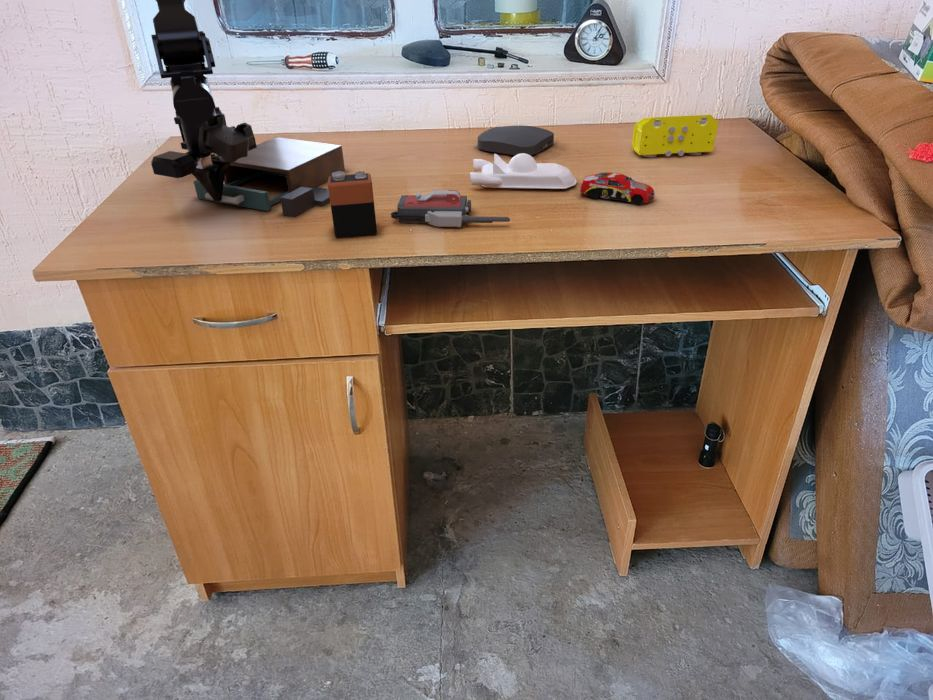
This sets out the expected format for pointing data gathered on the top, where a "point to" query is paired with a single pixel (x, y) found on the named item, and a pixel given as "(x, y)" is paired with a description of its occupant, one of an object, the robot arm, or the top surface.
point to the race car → (616, 188)
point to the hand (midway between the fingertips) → (218, 200)
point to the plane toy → (521, 173)
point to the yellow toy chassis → (674, 135)
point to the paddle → (303, 200)
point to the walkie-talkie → (439, 209)
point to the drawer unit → (290, 162)
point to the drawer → (242, 193)
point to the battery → (352, 204)
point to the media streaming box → (515, 139)
